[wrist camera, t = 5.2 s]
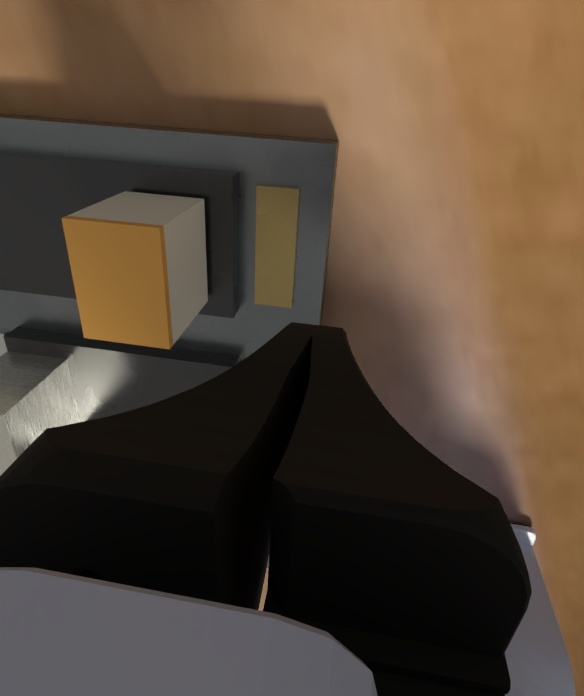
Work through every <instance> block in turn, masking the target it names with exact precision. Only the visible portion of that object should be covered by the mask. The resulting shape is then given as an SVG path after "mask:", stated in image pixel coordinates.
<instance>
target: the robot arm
mask: <svg viewBox="0 0 584 696" xmlns="http://www.w3.org/2000/svg"><path fill="white" fill-rule="evenodd" d="M535 540H536V534H535V531H534V529H532V528H531V527H528V526H522V525H516V524H510V522H509V520H508V518H507V516H506V514H505V512H504V510H503V507H502V505H501V503H500V501H499V499H498V498H497V497H495V496H493V495H492V494H490V493H489V492H487V491H486V490H484V489H482V488H481V487H479V486H478V485H476V484H475V483H473V482H471V481H470V480H468V479H467V478H465V477H464V476H462V475H460V474H459V473H457V472H456V471H454V470H453V469H451V468H450V467H449V466H447V465H446V464H445V463H443V462H442V461H441V460H440V459H438V458H437V457H436V456H434V455H433V454H432V453H430V452H429V451H428V450H427V449H426V448H424V447H423V446H422V445H421V444H420V443H419V442H417V441H416V440H415V439H414V438H413V437H412V436H411V435H410V434H409V433H408V432H407V431H406V430H405V429H404V428H403V427H402V426H401V425H399V423H398V422H397V421H396V420H395V419H394V418H393V417H392V416H391V415H390V413H389V412H388V411H387V410H386V409H385V407H384V406H383V405H382V403H381V402H380V401H379V399H378V398H377V396H376V395H375V394H374V392H373V391H372V389H371V387H370V386H369V384H368V383H367V381H366V379H365V378H364V376H363V374H362V372H361V370H360V368H359V366H358V364H357V363H356V361H355V358H354V356H353V354H352V351H351V349H350V346H349V343H348V340H347V336H346V332H345V331H344V330H343V328H337V327H329V326H321V325H312V324H304V323H296V322H291V323H290V324H288V325H287V326H286V327H284V328H283V329H282V330H281V331H280V332H279V333H277V334H276V335H275V336H274V337H273V338H271V339H270V340H269V341H268V342H266V343H265V344H264V345H263V346H261V347H260V348H259V349H257V350H256V351H255V352H254V353H252V354H251V355H250V356H248V357H247V358H245V359H244V360H242V361H241V362H239V363H238V364H236V365H235V366H233V367H232V368H230V369H228V370H227V371H225V372H223V373H222V374H220V375H218V376H216V377H214V378H212V379H210V380H208V381H206V382H204V383H202V384H200V385H198V386H196V387H194V388H192V389H189V390H187V391H184V392H182V393H179V394H177V395H174V396H172V397H169V398H167V399H164V400H161V401H159V402H156V403H153V404H150V405H147V406H144V407H140V408H137V409H134V410H130V411H126V412H123V413H119V414H116V415H112V416H107V417H103V418H99V419H94V420H89V421H84V422H79V423H74V424H69V425H64V426H59V427H52V428H47V429H46V430H45V431H44V432H43V433H41V434H40V435H39V436H38V437H37V438H36V439H35V440H34V441H33V443H32V444H31V445H30V446H29V447H28V448H27V449H26V450H25V451H24V452H23V453H22V454H21V455H20V456H19V457H18V458H17V459H16V460H15V461H14V462H13V463H12V464H11V465H10V466H9V467H8V468H7V469H6V470H5V471H4V473H3V474H2V475H1V476H0V696H576V695H575V686H574V679H573V673H572V668H571V664H570V659H569V656H568V652H567V649H566V646H565V643H564V640H563V637H562V634H561V631H560V628H559V625H558V622H557V619H556V616H555V613H554V610H553V607H552V604H551V601H550V598H549V595H548V592H547V589H546V586H545V583H544V580H543V577H542V574H541V571H540V568H539V565H538V562H537V559H536V556H535V553H534V550H533V547H532V546H533V544H534V542H535ZM268 558H269V571H268V590H267V595H266V599H265V604H264V609H263V611H259V610H258V608H259V603H260V598H261V593H262V588H263V583H264V578H265V573H266V568H267V563H268Z"/></svg>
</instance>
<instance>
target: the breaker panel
mask: <svg viewBox="0 0 584 696" xmlns="http://www.w3.org/2000/svg"><path fill="white" fill-rule="evenodd" d="M338 146H339V141H335V140H322V139H309V138H297V137H284V136H272V135H259V134H246V133H234V132H221V131H208V130H196V129H183V128H170V127H158V126H145V125H132V124H120V123H107V122H94V121H82V120H69V119H56V118H44V117H31V116H18V115H6V114H0V476H1V475H2V474H3V473H4V471H5V470H6V469H7V468H8V467H9V466H10V465H11V464H12V463H13V462H14V461H15V460H16V459H17V458H18V457H19V456H20V455H21V454H22V453H23V452H24V451H25V450H26V449H27V448H28V447H29V446H30V445H31V444H32V443H33V441H34V440H35V439H36V438H37V437H38V436H39V435H40V434H41V433H43V432H44V431H45V430H46V429H47V428H52V427H59V426H64V425H69V424H74V423H79V422H84V421H89V420H94V419H99V418H103V417H107V416H112V415H116V414H119V413H123V412H126V411H130V410H134V409H137V408H140V407H144V406H147V405H150V404H153V403H156V402H159V401H161V400H164V399H167V398H169V397H172V396H174V395H177V394H179V393H182V392H184V391H187V390H189V389H192V388H194V387H196V386H198V385H200V384H202V383H204V382H206V381H208V380H210V379H212V378H214V377H216V376H218V375H220V374H222V373H223V372H225V371H227V370H228V369H230V368H232V367H233V366H235V365H236V364H238V363H239V362H241V361H242V360H244V359H245V358H247V357H248V356H250V355H251V354H252V353H254V352H255V351H256V350H257V349H259V348H260V347H261V346H263V345H264V344H265V343H266V342H268V341H269V340H270V339H271V338H273V337H274V336H275V335H276V334H277V333H279V332H280V331H281V330H282V329H283V328H284V327H286V326H287V325H288V324H290V323H291V322H296V323H304V324H312V325H321V320H322V309H323V299H324V289H325V279H326V269H327V258H328V248H329V238H330V228H331V218H332V208H333V197H334V187H335V177H336V167H337V157H338ZM124 191H128V192H138V193H149V194H159V195H170V196H180V197H191V198H201V199H204V207H205V234H206V262H207V290H208V301H207V303H206V304H205V305H204V306H203V308H202V309H201V310H200V312H199V313H198V314H197V315H196V317H195V318H194V319H193V320H192V322H191V323H190V324H189V326H188V327H187V328H186V329H185V331H184V332H183V333H182V334H181V336H180V337H179V338H178V340H177V341H176V342H175V343H174V345H173V346H172V347H171V349H163V348H155V347H148V346H140V345H133V344H125V343H118V342H110V341H103V340H95V339H88V338H84V335H83V330H82V325H81V319H80V314H79V309H78V303H77V298H76V293H75V288H74V282H73V277H72V272H71V266H70V261H69V256H68V250H67V245H66V240H65V234H64V229H63V224H62V218H63V217H65V216H68V215H70V214H72V213H75V212H77V211H79V210H82V209H84V208H86V207H89V206H91V205H94V204H96V203H98V202H101V201H103V200H105V199H108V198H110V197H113V196H115V195H117V194H120V193H122V192H124ZM267 568H269V558H268V563H267Z"/></svg>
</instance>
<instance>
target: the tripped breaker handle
mask: <svg viewBox="0 0 584 696" xmlns="http://www.w3.org/2000/svg"><path fill="white" fill-rule="evenodd" d="M62 224H63V229H64V234H65V240H66V245H67V250H68V256H69V261H70V266H71V272H72V277H73V282H74V288H75V293H76V298H77V303H78V309H79V314H80V319H81V325H82V330H83V335H84V338H88V339H95V340H103V341H110V342H118V343H125V344H133V345H140V346H148V347H155V348H163V349H171V347H172V346H173V345H174V343H175V342H176V341H177V340H178V338H179V337H180V336H181V334H182V333H183V332H184V331H185V329H186V328H187V327H188V326H189V324H190V323H191V322H192V320H193V319H194V318H195V317H196V315H197V314H198V313H199V312H200V310H201V309H202V308H203V306H204V305H205V304H206V303H207V301H208V290H207V262H206V234H205V207H204V199H201V198H191V197H180V196H170V195H159V194H149V193H138V192H128V191H124V192H122V193H120V194H117V195H115V196H113V197H110V198H108V199H105V200H103V201H101V202H98V203H96V204H94V205H91V206H89V207H86V208H84V209H82V210H79V211H77V212H75V213H72V214H70V215H68V216H65V217H63V218H62Z"/></svg>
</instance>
